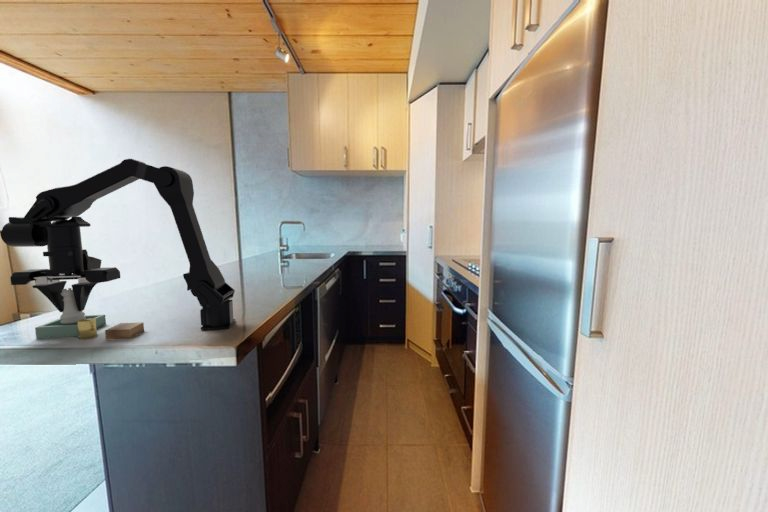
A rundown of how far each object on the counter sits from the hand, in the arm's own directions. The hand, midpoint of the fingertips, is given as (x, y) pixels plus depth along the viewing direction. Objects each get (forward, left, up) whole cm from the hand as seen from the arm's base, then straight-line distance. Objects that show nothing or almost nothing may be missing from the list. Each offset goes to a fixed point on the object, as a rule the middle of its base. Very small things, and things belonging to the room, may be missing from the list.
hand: (72, 311), depth 75 cm
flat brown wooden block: (-14, +5, -5) cm, 16 cm away
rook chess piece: (0, 0, -3) cm, 3 cm away
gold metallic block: (-6, +5, -5) cm, 10 cm away
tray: (0, 0, -5) cm, 5 cm away
